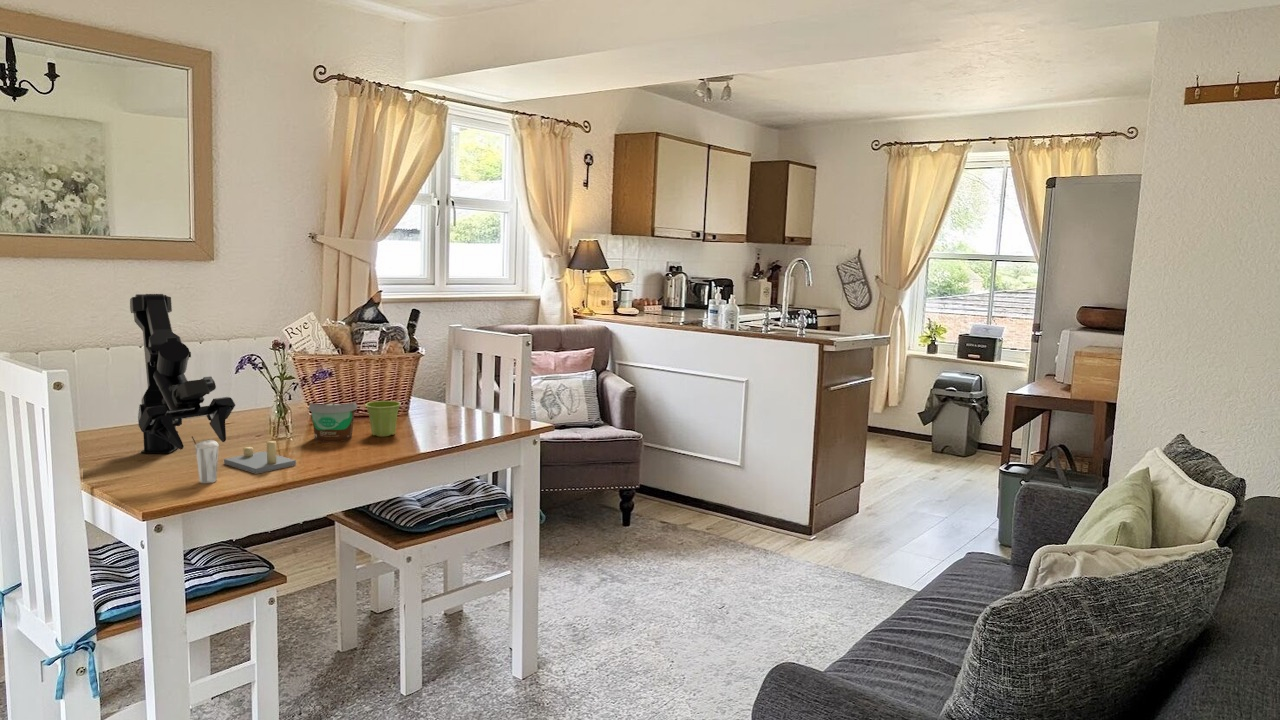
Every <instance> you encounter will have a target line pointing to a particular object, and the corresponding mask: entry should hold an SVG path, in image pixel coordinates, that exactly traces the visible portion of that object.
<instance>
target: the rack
mask: <svg viewBox="0 0 1280 720" xmlns="http://www.w3.org/2000/svg"><path fill="white" fill-rule="evenodd" d="M223 464H224V465H226V466H230V467H233V468H236V469H239V470H241V471H246V472H249V473H251V474H255V475H258V474H262V473H266V472H271V471H276V470H279V469H285V468H290V467H294V466H296V465H297V461H296V459H292V458H288V457H285V456H282V455H279V454H277V441H276V440H270V441H266V451H265V450H263V451H258V452H254V448H253V447H252V446H247V447H243V454H242V455H237V456H231V457H227V458H224V459H223Z"/></svg>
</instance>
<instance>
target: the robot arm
mask: <svg viewBox="0 0 1280 720" xmlns="http://www.w3.org/2000/svg"><path fill="white" fill-rule="evenodd" d="M172 308H173V307H172V297H171V296H168V295H166V294H163V293H145V294H144V293H143V294H141V293H140V294H139V293H138V294H137V293H136V294H135V295H134V296H131V298H130V299H129V309H130V314H133V319H134V320H133V321H134V323H135V324H136V326H138V327H139V328H140V330H141V331H142V336H143V348H144V350H143V351H144V359H145V371H146V373H145V374H146V381H147V382H146V383H147V384H146V385H147V389H146V391H145V392H144V394H143V396H142V397H141V404H138V416H137V420H138V421H137V422H138V427H139V428H140V431H141V432H142V435H143V436H142V437H143V450H140V453H141V454H171V453H172V452H175V450H177V449H179V450H183V449H184V446H185V445H184V443H183V440H182V439H181V437H180V434H179V431H178V430H177V428H176V427H180V426H182V425H183V420H184V419H190V418H197V417H204V416H205V417H206V418H207V419H208V421H210V422H209V425H210V427H211V429H212V430H213V432H214V433H215V435H216V436H217V438H218V439H219V440H220V441H221V442H222V443H225V442H226V440H227V433H226V420H227V419H228V418H229V417H230V415H231V414H232V412H233V410H234V408H235V407H236V404H235V401H234V400H233V398H232V397H229V396H225V397H224V396H223V397H218V398H217V397H216V398H213V399H212V400H211V402H210V403H209V405H205V406H201V405H200V404H203V403H204V401H205V396H207V395H209V394H210V393H211V392H213V391H215V390H216V389H217V385H216V383H215V380H214V379H213V377H212V376H211V375H210V376H203V377H202V378H201V379H194V380H192V379H191V380H188V378H187V377H186V375H185V373H186V371H187V368H188V361H189V360H190V358H192V352H191V351H190V349H189V347H188V346H187V345H186V344H185V343H183V342H182V340H181V337H180V336H179V335H177V334H176V333H175V332H173V327H172V325H171V320H170V315H169V314H171V313H172V312H173V309H172Z"/></svg>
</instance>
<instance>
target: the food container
mask: <svg viewBox="0 0 1280 720" xmlns="http://www.w3.org/2000/svg"><path fill="white" fill-rule="evenodd" d="M357 409H358V405H357V403H356V401H353V402H350V403H345V404H343V403H335V402H331V403H324V404H317V403H313V402H310V403H309V407H308V411H309V412H311V418H312V425H313V433H314V439H315V441H317V442H318V441H319V442H323V443H325V442H326V443H334V442H335V443H336V442H343V441H349V440H350V439H352V438H353V428H354V418H355V410H357Z"/></svg>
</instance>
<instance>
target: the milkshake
mask: <svg viewBox="0 0 1280 720" xmlns="http://www.w3.org/2000/svg"><path fill="white" fill-rule="evenodd" d="M191 439H192V441H193V443H194V447H195V448H194V449H195V455H196V460H197V461H196V463H197V470H198V480H199V483H200V484H213V483H215V482H217V477H218V476H217V474H218V459H219V458H218V457H219V446H220V445H219V443H218V442H217V441H216V440H214V439H207V440H201V441H198V442H196V440H195V438H194V436H193V435H192V436H191Z"/></svg>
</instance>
